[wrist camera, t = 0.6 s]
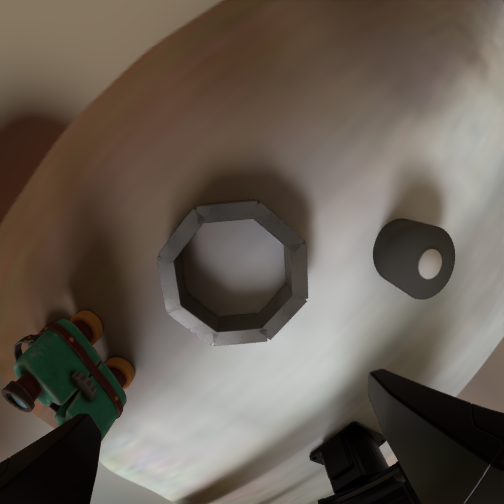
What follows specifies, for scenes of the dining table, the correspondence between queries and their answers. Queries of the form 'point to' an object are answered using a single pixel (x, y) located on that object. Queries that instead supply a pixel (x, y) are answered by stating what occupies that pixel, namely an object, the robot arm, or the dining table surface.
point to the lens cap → (414, 257)
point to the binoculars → (70, 373)
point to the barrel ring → (244, 325)
